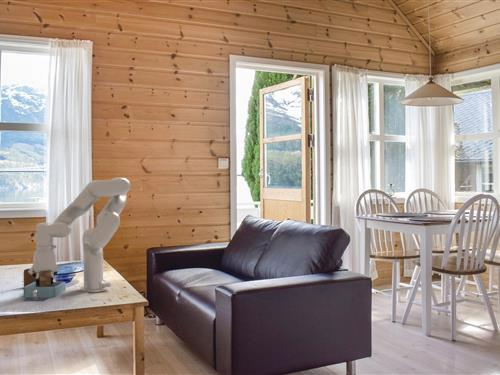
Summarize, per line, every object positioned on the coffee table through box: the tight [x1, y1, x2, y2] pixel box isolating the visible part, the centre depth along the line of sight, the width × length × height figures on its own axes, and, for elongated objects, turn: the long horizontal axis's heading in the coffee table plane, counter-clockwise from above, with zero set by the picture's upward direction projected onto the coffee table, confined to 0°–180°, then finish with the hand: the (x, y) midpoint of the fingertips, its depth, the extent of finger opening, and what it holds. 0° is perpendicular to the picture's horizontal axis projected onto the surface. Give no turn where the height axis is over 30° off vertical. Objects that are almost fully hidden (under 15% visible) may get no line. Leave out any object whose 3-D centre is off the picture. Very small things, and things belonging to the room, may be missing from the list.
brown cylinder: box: [39, 270, 51, 287], centre depth 245 cm, size 5×5×9 cm
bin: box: [23, 281, 67, 298], centre depth 245 cm, size 15×13×6 cm
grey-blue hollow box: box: [20, 290, 50, 302], centre depth 234 cm, size 11×7×5 cm, turn 89°
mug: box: [23, 268, 36, 287], centre depth 264 cm, size 12×8×9 cm, turn 123°
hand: (44, 285), depth 245 cm, fingers closed on brown cylinder, 5 cm apart
